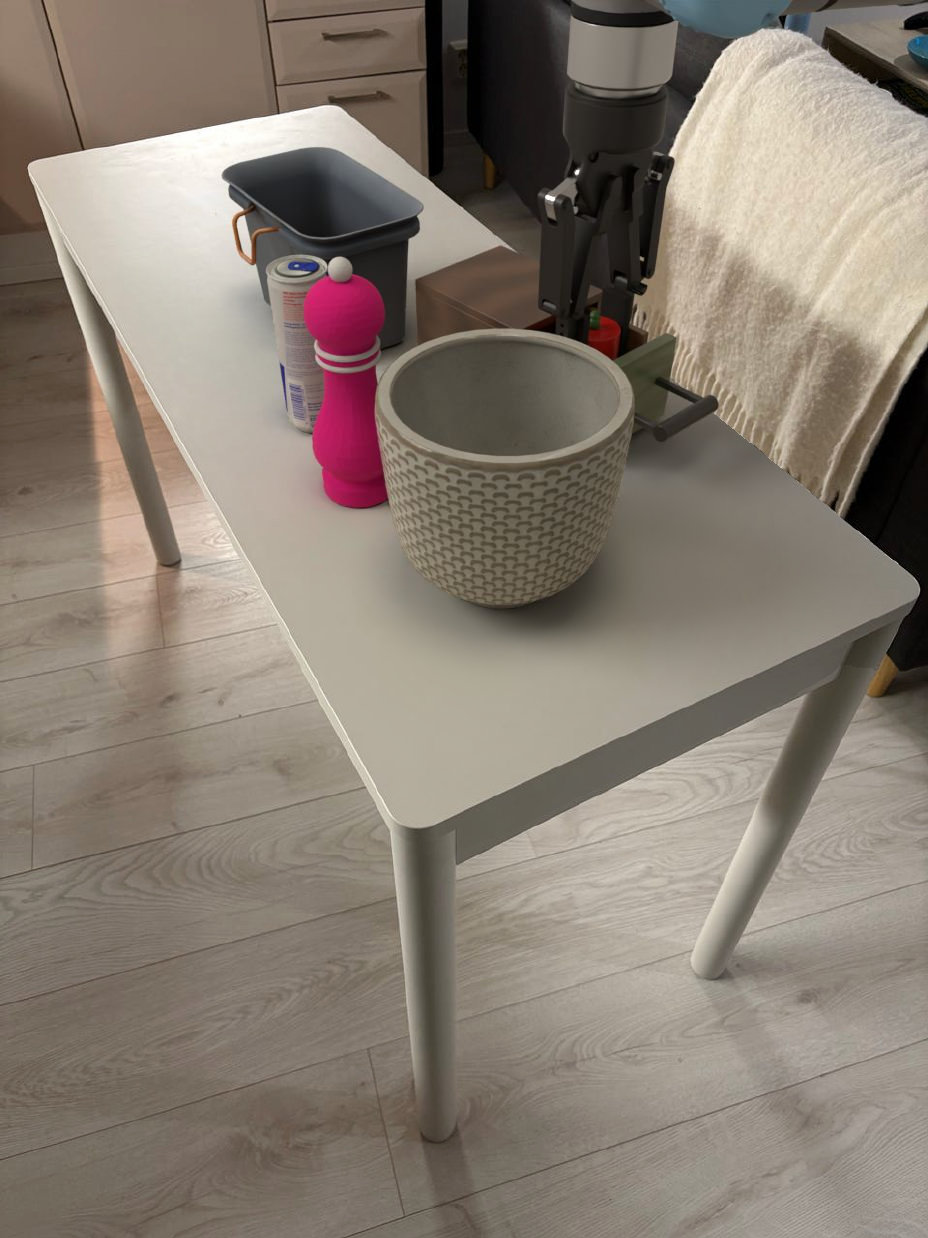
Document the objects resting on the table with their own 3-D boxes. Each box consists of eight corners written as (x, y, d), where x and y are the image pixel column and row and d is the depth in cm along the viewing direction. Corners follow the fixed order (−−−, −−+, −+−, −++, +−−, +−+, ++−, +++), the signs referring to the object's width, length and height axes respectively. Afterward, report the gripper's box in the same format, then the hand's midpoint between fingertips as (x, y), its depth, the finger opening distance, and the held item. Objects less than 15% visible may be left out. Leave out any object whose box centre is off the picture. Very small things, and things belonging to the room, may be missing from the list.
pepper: (626, 373, 87) (633, 311, 83) (591, 392, 84) (597, 329, 80) (587, 354, 89) (593, 293, 85) (552, 372, 87) (557, 310, 83)
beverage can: (348, 408, 92) (333, 252, 82) (338, 438, 88) (320, 279, 78) (295, 405, 92) (273, 250, 82) (283, 435, 89) (258, 277, 78)
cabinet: (595, 384, 95) (604, 290, 88) (514, 427, 90) (518, 330, 83) (498, 334, 102) (500, 244, 95) (418, 371, 97) (414, 279, 90)
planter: (573, 491, 82) (589, 314, 71) (644, 631, 70) (676, 444, 59) (372, 519, 80) (355, 341, 69) (410, 670, 68) (397, 482, 57)
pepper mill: (303, 500, 82) (268, 270, 68) (342, 454, 87) (318, 230, 73) (380, 520, 80) (362, 287, 66) (416, 472, 85) (406, 245, 71)
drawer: (720, 443, 86) (737, 364, 81) (647, 489, 81) (660, 408, 76) (565, 364, 96) (570, 289, 90) (492, 401, 91) (494, 323, 86)
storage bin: (441, 346, 100) (438, 205, 91) (309, 391, 94) (290, 246, 84) (339, 272, 113) (327, 141, 103) (216, 308, 107) (190, 172, 97)
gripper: (655, 48, 77) (623, 323, 93) (493, 96, 68) (489, 390, 84) (733, 68, 73) (685, 352, 89) (572, 121, 64) (552, 425, 80)
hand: (590, 370), depth 87 cm, fingers closed on pepper, 5 cm apart
